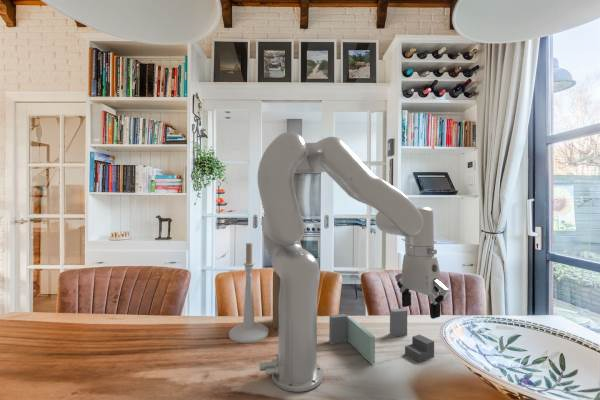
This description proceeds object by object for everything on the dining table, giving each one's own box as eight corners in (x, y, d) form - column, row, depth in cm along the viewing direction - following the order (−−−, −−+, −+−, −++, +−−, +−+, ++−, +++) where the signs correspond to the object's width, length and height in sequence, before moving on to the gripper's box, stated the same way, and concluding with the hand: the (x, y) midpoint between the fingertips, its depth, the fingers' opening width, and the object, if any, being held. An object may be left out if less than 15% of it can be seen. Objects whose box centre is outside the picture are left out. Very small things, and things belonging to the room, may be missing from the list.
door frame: (331, 343, 92) (331, 317, 92) (329, 340, 94) (329, 315, 94) (407, 335, 98) (407, 310, 98) (403, 332, 100) (403, 308, 100)
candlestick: (261, 344, 91) (262, 245, 91) (222, 340, 93) (222, 244, 93) (272, 326, 104) (273, 239, 104) (237, 323, 106) (238, 238, 106)
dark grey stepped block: (419, 349, 89) (419, 334, 89) (434, 357, 84) (434, 341, 84) (404, 354, 86) (405, 338, 86) (419, 363, 82) (419, 346, 82)
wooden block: (302, 330, 101) (302, 271, 101) (272, 330, 101) (272, 270, 101) (302, 319, 111) (302, 264, 111) (275, 318, 111) (275, 264, 111)
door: (345, 338, 94) (345, 316, 94) (349, 337, 95) (349, 315, 95) (370, 363, 80) (370, 337, 80) (375, 362, 80) (375, 336, 80)
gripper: (456, 254, 79) (457, 319, 79) (404, 245, 94) (405, 300, 94) (437, 257, 75) (438, 325, 75) (386, 248, 90) (387, 304, 91)
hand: (420, 311), depth 85 cm, fingers open, 9 cm apart
